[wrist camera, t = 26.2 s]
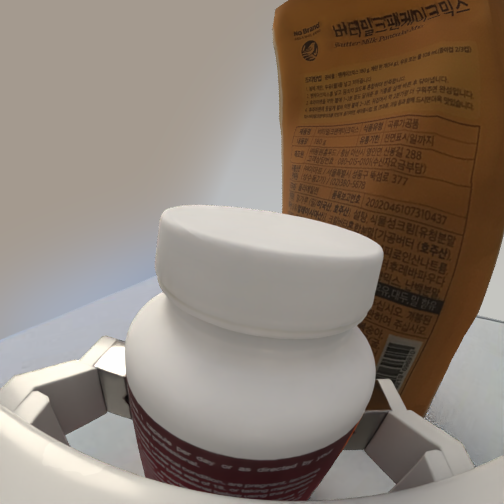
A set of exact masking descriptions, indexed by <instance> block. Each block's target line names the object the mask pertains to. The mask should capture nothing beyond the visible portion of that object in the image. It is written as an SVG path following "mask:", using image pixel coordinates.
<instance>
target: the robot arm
mask: <svg viewBox="0 0 504 504" xmlns="http://www.w3.org/2000/svg"><path fill="white" fill-rule="evenodd" d="M107 412H110V413H113V414H116V415H119V416H122V417H125V418H129V419H132V413H131V407H130V402H129V394H128V387H127V382H126V372H125V341H122V340H118V339H115V338H112V337H109V336H102V337H101V338H100V339H99V340H98V341H97V342H96V343H95V344H94V345H93V346H92V348H91V349H90V350H89V351H88V352H87V353H86V354H85V355H84V356H83V357H82V358H81V359H80V360H79V361H77V360H72V361H68V362H65V363H61V364H57V365H54V366H50V367H46V368H43V369H39V370H35V371H31V372H27V373H23V374H19V375H15V376H14V377H12V378H11V379H10V380H9V381H8V382H7V383H6V384H5V385H4V386H3V387H2V388H1V389H0V504H504V455H502V456H500V457H498V458H496V459H494V460H492V461H489V462H487V463H485V464H483V465H480V466H478V467H475V466H474V464H473V462H472V460H471V459H470V457H469V455H468V453H467V451H466V449H465V448H464V446H463V444H462V442H460V441H459V440H457V439H455V438H454V437H452V436H451V435H449V434H447V433H446V432H444V431H443V430H441V429H440V428H438V427H436V426H435V425H433V424H432V423H430V422H429V421H427V420H426V419H424V418H422V417H421V416H419V415H418V414H416V413H415V412H413V411H412V410H407V409H406V407H405V405H404V403H403V401H402V399H401V397H400V395H399V394H398V392H397V390H396V388H395V386H394V384H393V382H392V381H391V380H390V379H375V384H374V389H373V392H372V395H371V398H370V401H369V403H368V405H367V407H366V409H365V411H364V414H363V416H362V418H361V420H360V421H359V423H358V425H357V427H356V428H355V430H354V432H353V434H352V435H351V437H350V438H349V440H348V442H347V444H346V445H345V447H344V449H343V450H364V451H365V452H366V454H367V455H368V456H369V457H370V458H371V459H372V460H373V461H374V462H375V463H376V464H377V465H378V466H379V467H380V468H381V469H382V470H383V471H384V472H385V473H386V474H387V475H388V476H389V477H390V478H391V479H392V480H393V481H394V482H395V483H396V485H395V486H394V487H393V488H392V489H391V490H390V491H389V492H388V493H384V494H379V495H372V496H365V497H357V498H348V499H337V500H320V501H277V500H261V499H249V498H240V497H232V496H224V495H218V494H212V493H206V492H201V491H196V490H191V489H187V488H182V487H178V486H174V485H170V484H166V483H163V482H159V481H156V480H152V479H149V478H146V477H143V476H140V475H137V474H134V473H131V472H128V471H125V470H122V469H120V468H117V467H114V466H112V465H109V464H107V463H104V462H102V461H100V460H97V459H95V458H93V457H91V456H88V455H86V454H84V453H82V452H80V451H78V450H76V449H74V448H72V447H71V446H70V445H69V443H68V441H67V439H66V437H65V435H67V434H69V433H70V432H72V431H74V430H76V429H78V428H80V427H82V426H84V425H86V424H88V423H89V422H91V421H93V420H95V419H97V418H99V417H100V416H102V415H104V414H106V413H107Z"/></svg>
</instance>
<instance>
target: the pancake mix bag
mask: <svg viewBox="0 0 504 504" xmlns="http://www.w3.org/2000/svg"><path fill="white" fill-rule="evenodd" d="M272 30H273V45H274V49H275V55H276V62H277V69H278V83H279V111H280V112H279V114H280V115H279V117H280V118H279V119H280V128H281V135H282V214H287V215H293V216H298V217H303V218H307V219H312V220H316V221H320V222H324V223H327V224H331V225H335V226H338V227H341V228H344V229H347V230H350V231H353V232H356V233H358V234H361V235H363V236H365V237H367V238H369V239H371V240H373V241H374V242H376V243H377V244H379V245H380V246H381V248H382V249H383V261H382V266H381V270H380V274H379V279H378V283H377V287H376V291H375V295H374V301H373V304H372V307H371V308H370V310H369V311H368V312H367V315H366V317H365V318H364V319H363V321H362V322H361V323H359V324H358V325H357V327H358V328H359V329H360V330H361V332H362V333H363V334H364V336H365V337H366V339H367V341H368V343H369V345H370V347H371V350H372V353H373V356H374V360H375V368H376V375H375V379H390V380H391V381H392V382H393V384H394V386H395V388H396V390H397V392H398V394H399V395H400V397H401V399H402V401H403V403H404V405H405V407H406V409H407V410H412V411H413V412H415V413H416V414H418V415H419V416H421V417H422V418H424V417H425V415H426V413H427V411H428V409H429V406H430V404H431V402H432V400H433V398H434V396H435V394H436V392H437V390H438V388H439V385H440V383H441V381H442V379H443V377H444V375H445V373H446V371H447V369H448V366H449V364H450V362H451V360H452V358H453V356H454V354H455V352H456V351H457V349H458V347H459V345H460V343H461V341H462V339H463V337H464V336H465V334H466V332H467V331H468V329H469V328H470V326H471V324H472V323H473V321H474V319H475V318H476V316H477V314H478V312H479V310H480V307H481V305H482V302H483V299H484V296H485V293H486V291H487V288H488V285H489V282H490V279H491V276H492V273H493V270H494V267H495V264H496V261H497V257H498V254H499V250H500V247H501V243H502V239H503V235H504V0H288V1H287V2H285V3H284V4H282V5H281V6H279V7H278V8H277V9H276V10H275V17H274V23H273V29H272Z"/></svg>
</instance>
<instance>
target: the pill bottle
mask: <svg viewBox="0 0 504 504" xmlns="http://www.w3.org/2000/svg"><path fill="white" fill-rule="evenodd" d="M382 261H383V249H382V248H381V246H380V245H379V244H377V243H376V242H374V241H373V240H371V239H369V238H367V237H365V236H363V235H361V234H358V233H356V232H353V231H350V230H347V229H344V228H341V227H338V226H335V225H331V224H327V223H324V222H320V221H316V220H312V219H307V218H303V217H298V216H293V215H287V214H282V213H276V212H270V211H263V210H256V209H248V208H240V207H228V206H212V205H184V206H178V207H172V208H169V209H166V210H165V211H164V212H163V213H162V215H161V218H160V222H159V230H158V239H157V248H156V257H155V271H156V275H157V277H158V282H159V286H160V288H161V289H162V291H163V292H162V293H160V294H159V295H157V296H155V297H154V298H152V299H151V300H150V301H149V302H148V303H147V304H145V305H144V307H143V308H142V309H141V310H140V311H139V312H138V314H137V315H136V316H135V318H134V320H133V322H132V323H131V325H130V328H129V330H128V333H127V337H126V342H125V372H126V382H127V387H128V394H129V402H130V407H131V413H132V419H133V424H134V429H135V434H136V439H137V444H138V449H139V453H140V457H141V461H142V465H143V469H144V473H145V477H146V478H149V479H152V480H156V481H159V482H163V483H166V484H170V485H174V486H178V487H182V488H187V489H191V490H196V491H201V492H206V493H212V494H218V495H224V496H232V497H240V498H249V499H261V500H277V501H307V500H308V498H309V497H310V496H311V495H312V493H313V492H314V490H315V489H316V488H317V487H318V485H319V484H320V482H321V481H322V480H323V478H324V477H325V475H326V474H327V472H328V471H329V469H330V468H331V466H332V465H333V463H334V462H335V460H336V459H337V457H338V456H339V454H340V453H341V452H342V450H343V449H344V447H345V445H346V444H347V442H348V440H349V438H350V437H351V435H352V434H353V432H354V430H355V428H356V427H357V425H358V423H359V421H360V420H361V418H362V416H363V414H364V411H365V409H366V407H367V405H368V403H369V401H370V398H371V395H372V392H373V389H374V384H375V375H376V368H375V360H374V356H373V353H372V350H371V347H370V345H369V343H368V341H367V339H366V337H365V336H364V334H363V333H362V332H361V330H360V329H359V328H358V327H357V325H358V324H359V323H361V322H362V321H363V319H364V318H365V317H366V315H367V312H368V311H369V310H370V308H371V307H372V304H373V301H374V295H375V291H376V287H377V283H378V279H379V274H380V270H381V266H382Z"/></svg>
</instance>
